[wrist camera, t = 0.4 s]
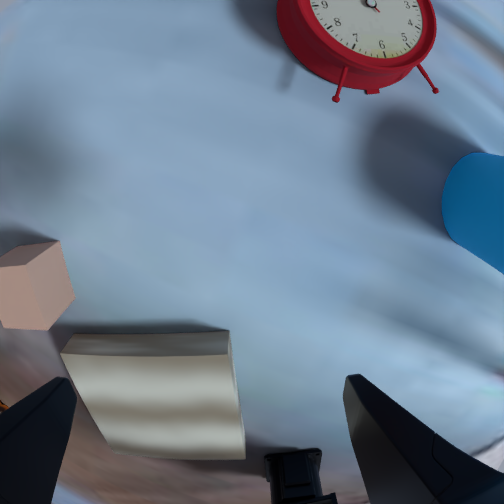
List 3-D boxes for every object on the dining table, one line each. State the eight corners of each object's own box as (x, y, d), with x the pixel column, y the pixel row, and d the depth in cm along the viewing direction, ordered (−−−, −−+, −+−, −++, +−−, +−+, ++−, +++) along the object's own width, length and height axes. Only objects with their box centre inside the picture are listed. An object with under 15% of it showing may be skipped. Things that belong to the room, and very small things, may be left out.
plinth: (245, 436, 29) (245, 459, 27) (121, 433, 29) (114, 453, 27) (229, 330, 24) (227, 354, 22) (73, 333, 25) (59, 353, 22)
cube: (76, 297, 23) (47, 330, 19) (33, 298, 23) (4, 327, 19) (60, 240, 22) (25, 265, 17) (17, 246, 22) (-18, 269, 17)
